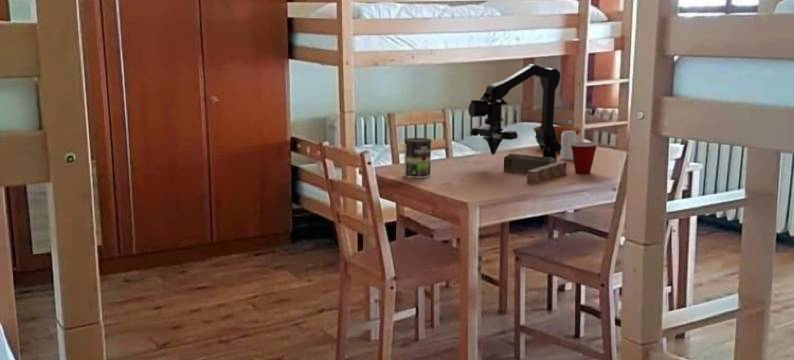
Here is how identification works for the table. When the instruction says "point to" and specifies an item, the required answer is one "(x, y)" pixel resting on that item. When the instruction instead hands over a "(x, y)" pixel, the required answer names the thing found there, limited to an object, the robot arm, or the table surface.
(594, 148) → the plastic cup
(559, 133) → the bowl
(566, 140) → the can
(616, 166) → the table surface
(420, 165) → the coffee can
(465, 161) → the table surface
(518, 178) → the table surface
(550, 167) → the batten
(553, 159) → the beverage carton
